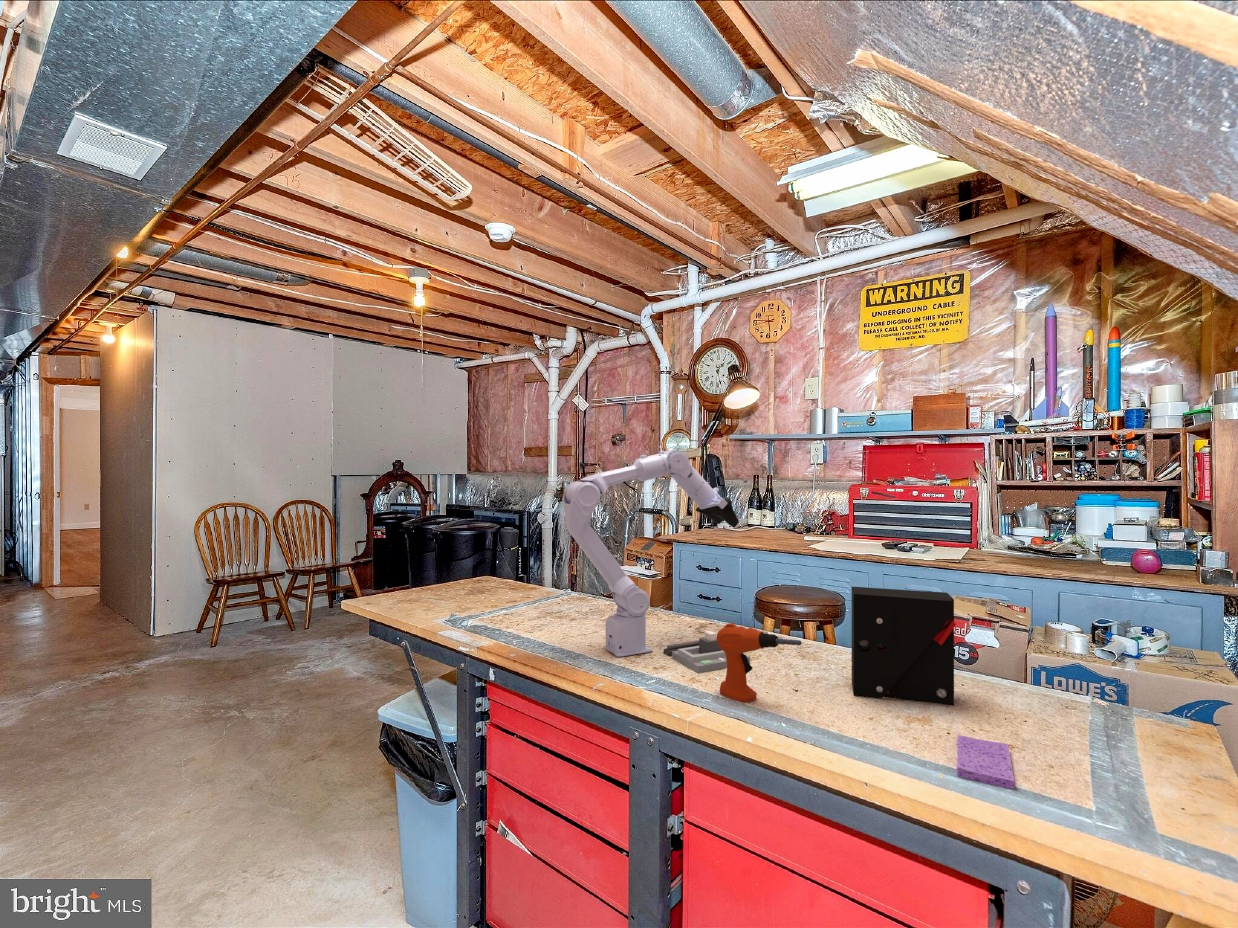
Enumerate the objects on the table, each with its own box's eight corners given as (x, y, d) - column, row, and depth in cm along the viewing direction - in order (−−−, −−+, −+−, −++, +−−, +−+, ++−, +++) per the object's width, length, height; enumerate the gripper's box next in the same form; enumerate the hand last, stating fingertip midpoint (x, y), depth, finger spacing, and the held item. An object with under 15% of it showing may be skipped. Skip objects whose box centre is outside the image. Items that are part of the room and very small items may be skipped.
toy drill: (804, 712, 102) (794, 629, 103) (715, 698, 113) (707, 624, 114) (814, 704, 105) (804, 624, 106) (727, 691, 117) (719, 620, 118)
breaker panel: (698, 673, 125) (698, 660, 125) (672, 657, 135) (672, 646, 135) (750, 663, 131) (750, 651, 131) (721, 649, 141) (721, 638, 141)
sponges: (956, 779, 83) (956, 766, 83) (956, 743, 94) (956, 732, 94) (1015, 793, 80) (1015, 780, 80) (1008, 754, 91) (1008, 742, 91)
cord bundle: (669, 656, 136) (669, 646, 136) (663, 652, 138) (663, 643, 138) (718, 648, 142) (718, 639, 142) (712, 645, 144) (712, 636, 144)
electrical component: (945, 689, 116) (944, 590, 116) (956, 709, 106) (956, 601, 106) (851, 679, 122) (850, 584, 122) (853, 697, 112) (853, 594, 112)
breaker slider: (707, 657, 130) (707, 635, 131) (699, 652, 134) (699, 631, 134) (722, 654, 132) (722, 633, 132) (713, 650, 135) (713, 629, 135)
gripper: (719, 476, 141) (753, 514, 145) (693, 474, 155) (724, 509, 158) (701, 497, 140) (735, 535, 143) (676, 493, 153) (708, 527, 157)
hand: (728, 522), depth 151 cm, fingers open, 7 cm apart
